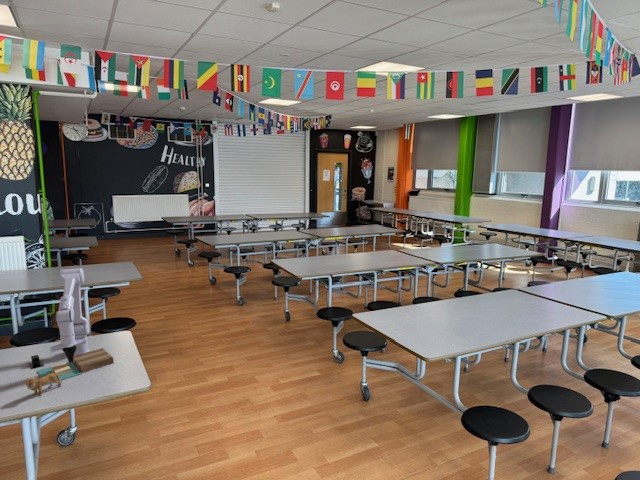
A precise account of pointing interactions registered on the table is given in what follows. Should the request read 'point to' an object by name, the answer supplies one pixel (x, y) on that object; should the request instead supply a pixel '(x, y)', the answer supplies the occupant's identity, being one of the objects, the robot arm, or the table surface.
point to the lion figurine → (42, 382)
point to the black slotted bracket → (35, 362)
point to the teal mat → (73, 373)
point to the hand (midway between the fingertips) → (70, 361)
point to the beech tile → (61, 369)
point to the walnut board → (92, 360)
